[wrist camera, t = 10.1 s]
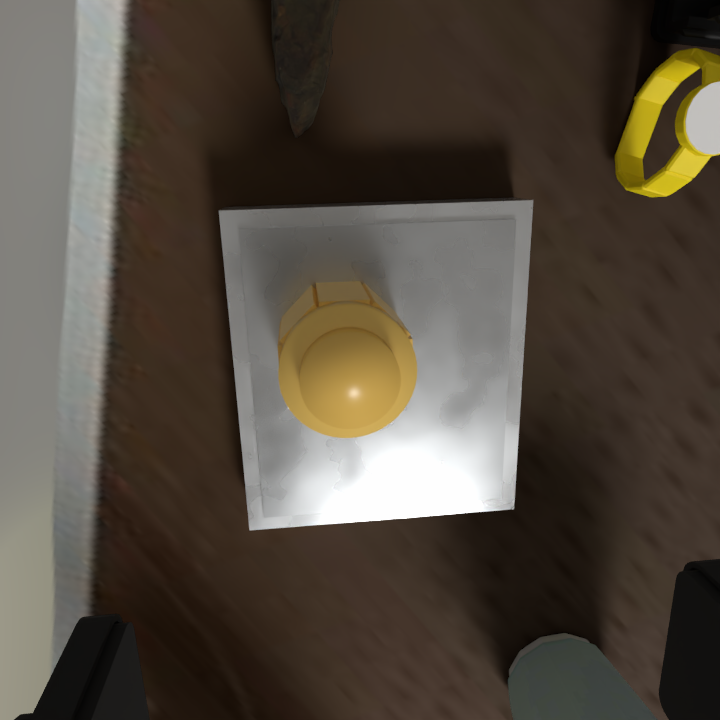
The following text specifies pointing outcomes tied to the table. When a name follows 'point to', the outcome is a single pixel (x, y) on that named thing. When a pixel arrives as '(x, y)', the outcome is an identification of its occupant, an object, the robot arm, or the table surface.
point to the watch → (692, 124)
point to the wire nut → (345, 360)
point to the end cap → (687, 22)
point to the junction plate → (430, 343)
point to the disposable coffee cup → (570, 683)
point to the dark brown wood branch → (302, 55)
